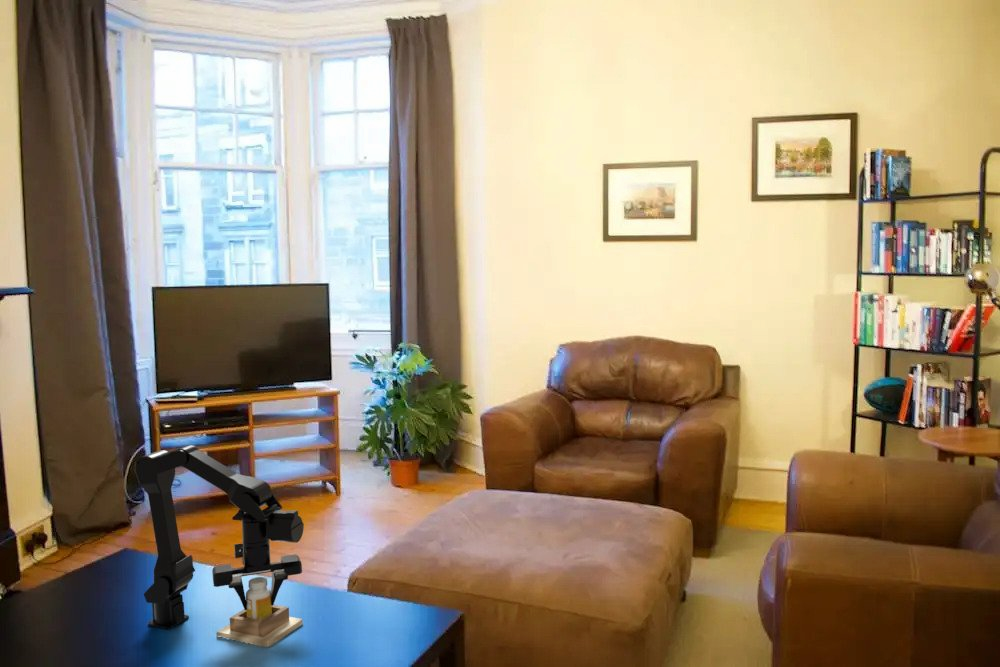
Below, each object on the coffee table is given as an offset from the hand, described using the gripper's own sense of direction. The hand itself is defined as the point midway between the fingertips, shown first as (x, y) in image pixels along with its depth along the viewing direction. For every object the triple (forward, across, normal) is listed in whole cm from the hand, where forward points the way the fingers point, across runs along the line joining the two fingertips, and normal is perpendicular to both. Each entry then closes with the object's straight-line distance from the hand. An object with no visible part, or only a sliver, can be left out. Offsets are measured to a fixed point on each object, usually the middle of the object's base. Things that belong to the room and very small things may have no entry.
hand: (259, 607), depth 180 cm
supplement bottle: (+4, 0, 0) cm, 4 cm away
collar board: (+5, 0, 0) cm, 5 cm away
